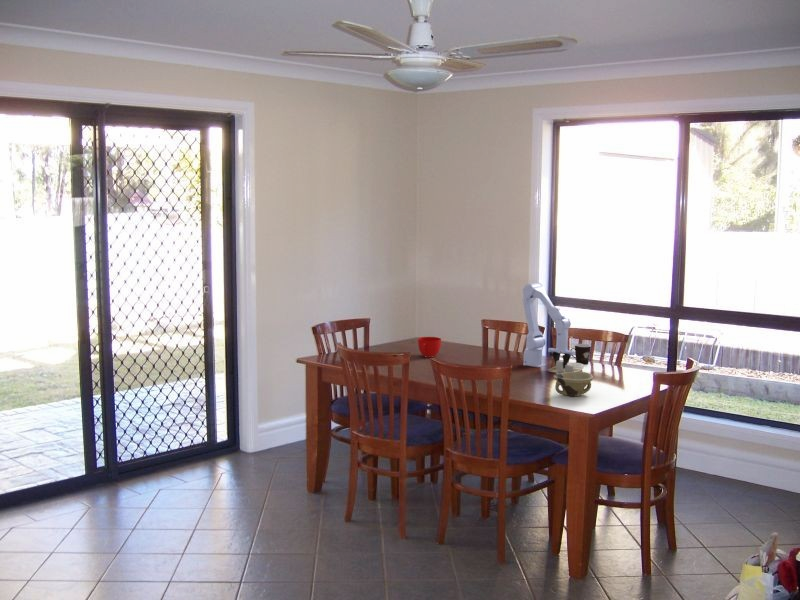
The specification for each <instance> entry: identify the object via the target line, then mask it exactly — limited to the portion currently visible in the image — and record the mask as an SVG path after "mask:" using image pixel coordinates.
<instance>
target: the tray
mask: <svg viewBox="0 0 800 600" xmlns="http://www.w3.org/2000/svg"><path fill="white" fill-rule="evenodd" d="M547 372H551V373H556V374H559V373H565V370H564V371H558V370H556V365H555V366H553V367H551V368H548V369H547ZM574 372H583V369H576V368H574Z"/></svg>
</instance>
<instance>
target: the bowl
mask: <svg viewBox="0 0 800 600" xmlns="http://www.w3.org/2000/svg"><path fill="white" fill-rule="evenodd" d="M593 378H594V376H593V374H591V373H590V372H585V371H582V372H565V373H556V374H554V375H553V379H554V380H555V381H556V382H555V385H554V387H555V391H556V392H557V393H559V394H560V395H562V396H564V395H565V396H566V397H579V396H581V395H584V394H587V393H588V392H589V391H590V390H591V388H592V383H591V382H592V381H593ZM560 387H561V389H562V390H561V389H560Z"/></svg>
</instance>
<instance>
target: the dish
mask: <svg viewBox="0 0 800 600" xmlns="http://www.w3.org/2000/svg"><path fill="white" fill-rule="evenodd" d="M567 365H574V368H576V369H582V370H583V369H584V368H585V367H584V366H585V364H581V363H576V362H568V363H567Z"/></svg>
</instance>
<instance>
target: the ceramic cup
mask: <svg viewBox="0 0 800 600" xmlns="http://www.w3.org/2000/svg"><path fill="white" fill-rule="evenodd" d="M441 343H442V338H440V337H436V336H422V337H419V338H417V344H418V345H417V346H418V350H419V353H421V355H422V356H423V357H424V356H427V357H426V358H429V356H430V358H432V357H431V356H435V355H436V356H437V355H438V354H439V352H440V350H441ZM436 356H435V357H436Z"/></svg>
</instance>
